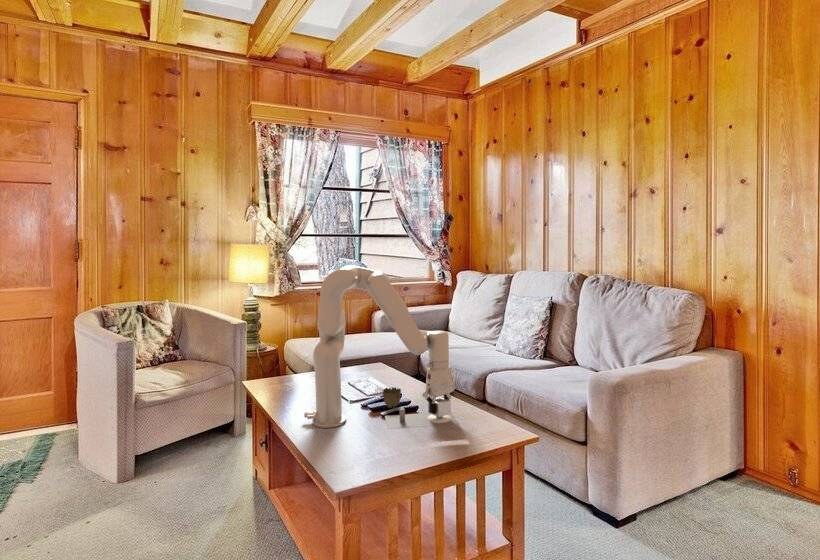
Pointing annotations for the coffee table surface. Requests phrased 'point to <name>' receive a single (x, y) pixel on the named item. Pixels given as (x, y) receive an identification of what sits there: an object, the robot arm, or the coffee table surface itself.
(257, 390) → the coffee table surface
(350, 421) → the coffee table surface
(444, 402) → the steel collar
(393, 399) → the cup
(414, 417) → the tool board
